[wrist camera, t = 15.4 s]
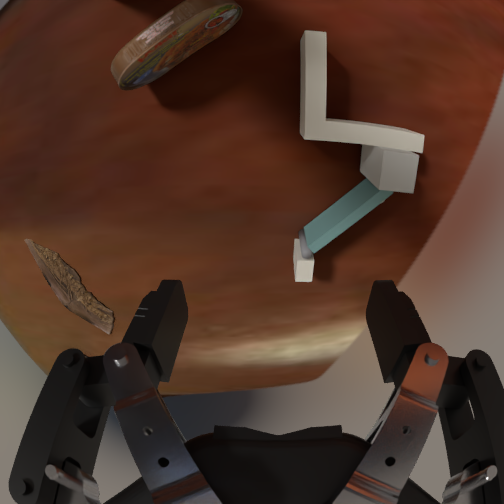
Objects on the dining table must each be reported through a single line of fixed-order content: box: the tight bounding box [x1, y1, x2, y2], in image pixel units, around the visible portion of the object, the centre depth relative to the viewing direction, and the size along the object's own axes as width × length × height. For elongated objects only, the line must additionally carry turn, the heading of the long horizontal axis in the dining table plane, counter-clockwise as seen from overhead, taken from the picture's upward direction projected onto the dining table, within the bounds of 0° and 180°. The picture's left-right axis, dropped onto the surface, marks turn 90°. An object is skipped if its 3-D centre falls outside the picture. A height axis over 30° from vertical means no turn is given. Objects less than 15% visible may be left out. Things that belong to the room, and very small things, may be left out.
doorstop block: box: [360, 144, 419, 193], centre depth 27 cm, size 4×4×7 cm
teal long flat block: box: [298, 178, 393, 259], centre depth 32 cm, size 13×2×5 cm, turn 134°
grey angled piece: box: [293, 30, 424, 282], centre depth 29 cm, size 28×13×5 cm, turn 1°
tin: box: [111, 0, 243, 90], centre depth 22 cm, size 15×3×8 cm, turn 122°
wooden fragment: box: [25, 239, 114, 334], centre depth 46 cm, size 26×11×1 cm, turn 32°
